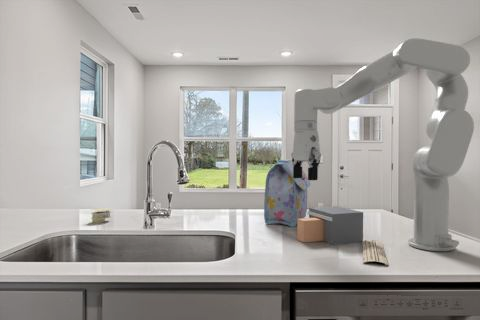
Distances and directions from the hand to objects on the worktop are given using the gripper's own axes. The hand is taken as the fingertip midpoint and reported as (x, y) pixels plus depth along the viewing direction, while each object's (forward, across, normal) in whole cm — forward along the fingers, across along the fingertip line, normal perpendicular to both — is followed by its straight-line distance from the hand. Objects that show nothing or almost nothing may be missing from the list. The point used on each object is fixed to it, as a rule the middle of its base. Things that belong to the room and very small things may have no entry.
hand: (304, 179), depth 115 cm
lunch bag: (+21, +32, -11) cm, 39 cm away
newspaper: (+21, -20, -12) cm, 31 cm away
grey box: (+20, 0, -12) cm, 24 cm away
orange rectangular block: (+20, 0, -7) cm, 22 cm away
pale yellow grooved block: (+22, +56, +65) cm, 88 cm away
